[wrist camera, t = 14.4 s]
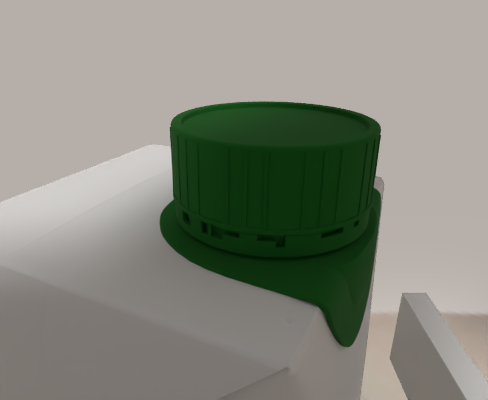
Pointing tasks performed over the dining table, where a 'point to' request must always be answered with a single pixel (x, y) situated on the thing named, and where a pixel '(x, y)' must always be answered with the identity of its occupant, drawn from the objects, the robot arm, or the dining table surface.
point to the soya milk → (199, 264)
